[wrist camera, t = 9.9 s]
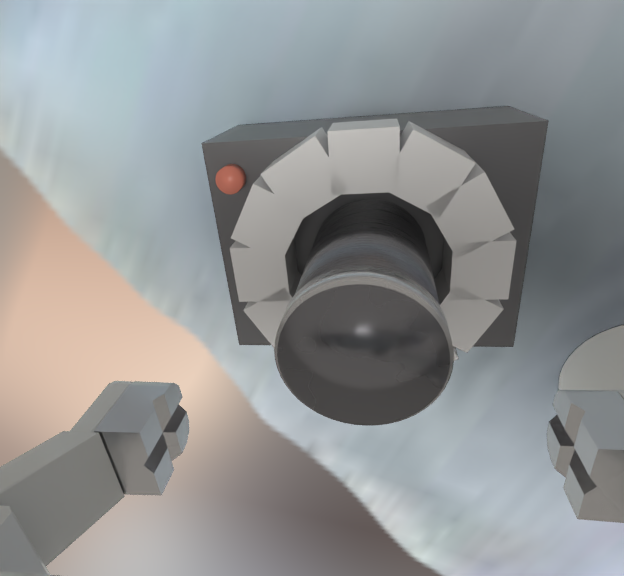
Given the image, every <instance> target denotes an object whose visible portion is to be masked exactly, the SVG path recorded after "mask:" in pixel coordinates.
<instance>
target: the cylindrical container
mask: <svg viewBox="0 0 624 576" xmlns="http://www.w3.org/2000/svg"><path fill="white" fill-rule="evenodd" d="M559 390H610V391H612V390H624V325H622V326H618V327H614V328H611V329H609V330H606V331H604V332H601V333H599V334H597V335H595V336H594V337H592V338H590V339H588V340H587V341H585V342H584V343H583V344H582V345H580V346H579V347H578V348H577V349H576V350H575V351H574V352H573V353H572V354H571V355H570V356H569V357H568V359H567V361H566V362H565V364H564V365H563V367H562V370H561V373H560V376H559Z"/></svg>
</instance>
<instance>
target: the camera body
mask: <svg viewBox="0 0 624 576" xmlns="http://www.w3.org/2000/svg"><path fill="white" fill-rule="evenodd" d="M547 126H548V121H547V120H545V119H542V118H539V117H537V116H534V115H531V114H528V113H526V112H523V111H520V110H518V109H515V108H512V107H510V106H500V107H486V108H472V109H458V110H444V111H429V112H415V113H401V114H387V115H373V116H359V117H345V118H330V119H316V120H302V121H288V122H274V123H260V124H246V125H238V126H236V127H234V128H232V129H229V130H227V131H225V132H223V133H221V134H219V135H217V136H215V137H213V138H211V139H209V140H207V141H205V142H203V143H202V148H203V153H204V159H205V164H206V169H207V175H208V180H209V185H210V191H211V196H212V201H213V207H214V212H215V217H216V223H217V228H218V233H219V239H220V244H221V249H222V255H223V260H224V265H225V271H226V276H227V281H228V287H229V292H230V297H231V303H232V308H233V313H234V319H235V324H236V330H237V335H238V340H239V345H272V346H273V347H275V338H276V334H277V330H278V328H279V325H280V322H281V320H282V317H283V315H284V312H285V310H286V307H287V305H288V304H289V302H290V300H291V299H292V297H293V296H294V295H295V293H296V290H297V287H298V284H299V282H300V279H301V276H302V274H303V271H304V268H305V265H306V263H307V260H308V257H309V255H310V252H311V249H312V247H313V244H314V241H315V238H316V236H317V233H318V231H319V229H320V227H321V225H322V223H323V222H324V221H325V219H326V218H327V217H328V216H329V215H330V214H331V213H332V212H334V211H335V210H336V209H338V208H339V207H341V206H343V205H345V204H347V203H350V202H352V201H356V200H362V199H379V200H385V201H388V202H391V203H394V204H396V205H398V206H400V207H402V208H403V209H405V210H406V211H407V212H409V213H410V214H411V215H412V216H413V217H414V218H415V220H416V221H417V222H418V224H419V225H420V227H421V229H422V231H423V234H424V236H425V240H426V245H427V249H428V254H429V259H430V263H431V268H432V272H433V277H434V282H435V286H436V291H437V295H438V300H439V304H440V307H441V309H442V311H443V312H444V314H445V317H446V320H447V323H448V327H449V331H450V335H451V340H452V345H453V350H454V361H455V360H458V359H459V358H458V355H457V351H456V348H458V349H460V350H462V351H464V352H466V353H468V351H469V350H470V349H471V348H472V347H473V346H485V347H513V345H514V339H515V333H516V326H517V320H518V313H519V307H520V300H521V294H522V287H523V281H524V274H525V268H526V262H527V255H528V249H529V242H530V236H531V229H532V223H533V216H534V210H535V203H536V197H537V191H538V184H539V178H540V171H541V165H542V158H543V152H544V145H545V139H546V133H547Z"/></svg>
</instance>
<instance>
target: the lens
mask: <svg viewBox="0 0 624 576" xmlns="http://www.w3.org/2000/svg"><path fill="white" fill-rule="evenodd" d="M274 352H275V360H276V364H277V368H278V371H279V373H280V376H281V378H282V379H283V381H284V383H285V384H286V386H287V387H288V388H289V390H290V391H291V392H292V393H293V394H294V395H295V396H296V397H297V399H299V400H300V401H301V402H302V403H303V404H305V405H306V406H307V407H309V408H310V409H312V410H314V411H315V412H317V413H319V414H321V415H323V416H325V417H328V418H331V419H333V420H336V421H340V422H344V423H349V424H354V425H382V424H389V423H393V422H398V421H401V420H404V419H407V418H409V417H411V416H413V415H416V414H417V413H419V412H421V411H422V410H424V409H425V408H427V407H428V406H429V405H430V404H432V403H433V402H434V401H435V400H436V399H437V398H438V397H439V396H440V394H441V393H442V391H443V390H444V389H445V387H446V385H447V383H448V381H449V379H450V376H451V373H452V369H453V363H454V350H453V345H452V340H451V335H450V331H449V327H448V323H447V320H446V317H445V314H444V312H443V311H442V309H441V307H440V304H439V300H438V295H437V291H436V286H435V282H434V277H433V272H432V268H431V263H430V259H429V254H428V249H427V245H426V240H425V236H424V234H423V231H422V229H421V227H420V225H419V224H418V222H417V221H416V220H415V218H414V217H413V216H412V215H411V214H410V213H409V212H407V211H406V210H405V209H403V208H402V207H400V206H398V205H396V204H394V203H391V202H388V201H385V200H379V199H362V200H356V201H352V202H350V203H347V204H345V205H343V206H341V207H339V208H338V209H336V210H335V211H334V212H332V213H331V214H330V215H329V216H328V217H327V218H326V219H325V221H324V222H323V223H322V225H321V227H320V229H319V231H318V233H317V236H316V238H315V241H314V244H313V247H312V249H311V252H310V255H309V257H308V260H307V263H306V265H305V268H304V271H303V274H302V276H301V279H300V282H299V284H298V287H297V290H296V293H295V295H294V296H293V297H292V299H291V300H290V302H289V304H288V305H287V307H286V310H285V312H284V315H283V317H282V320H281V322H280V325H279V328H278V330H277V334H276V338H275V347H274Z"/></svg>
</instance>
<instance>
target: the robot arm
mask: <svg viewBox="0 0 624 576" xmlns="http://www.w3.org/2000/svg"><path fill="white" fill-rule="evenodd" d="M181 399H182V394H181V391H180V388H179V386H178V385H177V384H175V383H160V382H125V381H114V382H112V383H109V384H108V385H107V387H106V388H105V389H104V390H103V391H102V393H101V394H100V395H99V396H98V398H97V399H96V400H95V401H94V402H93V404H92V405H91V406H90V407H89V409H88V410H87V411H86V412H85V414H84V415H83V416H82V417H81V418H80V420H79V421H78V422H77V423H76V424H75V426H74V427H73V428H72V429H71V430H70V431H67V432H66V431H63V432H61V433H59V434H58V435H56V436H54V437H52V438H51V439H49V440H47V441H45V442H44V443H42V444H40V445H38V446H36V447H35V448H33V449H31V450H29V451H27V452H26V453H24V454H22V455H20V456H19V457H17V458H15V459H14V460H12V461H10V462H8V463H6V464H5V465H3V466H1V467H0V576H58V575H50V573H49V571H48V570H47V568H46V566H47V565H48V564H49V563H50V562H51V561H53V560H54V559H55V558H56V557H57V556H58V555H59V554H60V553H62V552H63V551H64V550H65V549H66V548H67V547H68V546H69V545H71V544H72V543H73V542H74V541H75V540H76V539H77V538H78V537H79V536H81V535H82V534H83V533H84V532H85V531H86V530H87V529H89V528H90V527H91V526H92V525H93V524H94V523H95V522H96V521H97V520H99V519H100V518H101V517H102V516H103V515H104V514H105V513H106V512H108V511H109V510H110V509H111V508H112V507H113V506H114V505H116V504H117V503H118V502H119V501H120V500H121V499H122V498H123V497H124V494H130V495H162V493H163V491H164V489H165V487H166V485H167V483H168V481H169V479H170V477H171V475H172V473H173V471H174V468H173V465H172V460H174V459H175V458H176V457H178V456H179V455H180V454H182V452H183V450H184V448H185V445H186V443H187V439H188V434H189V420H188V415H187V412H186V411H185V410H184V409H183V408H182V407H181V406H180V405H179V402H180V400H181ZM553 407H554V409H555V411H556V413H557V415H556V416H555V417H554V418H553V419H551V420H550V421H549V424H548V429H547V447H548V451H549V455H550V459H551V461H552V463H553V466H554V468H555V469H556V470H557V471H558V472H559V473H561V474H562V475H563V476H565V477H566V480H565V484H564V491H565V493H566V495H567V497H568V499H569V502H570V504H571V506H572V508H573V511H574V513H575V515H576V517H577V519H584V520H596V521H608V522H620V523H624V390H612V391H610V390H558V391H557V393H556V394H555V397H554V401H553Z"/></svg>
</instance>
